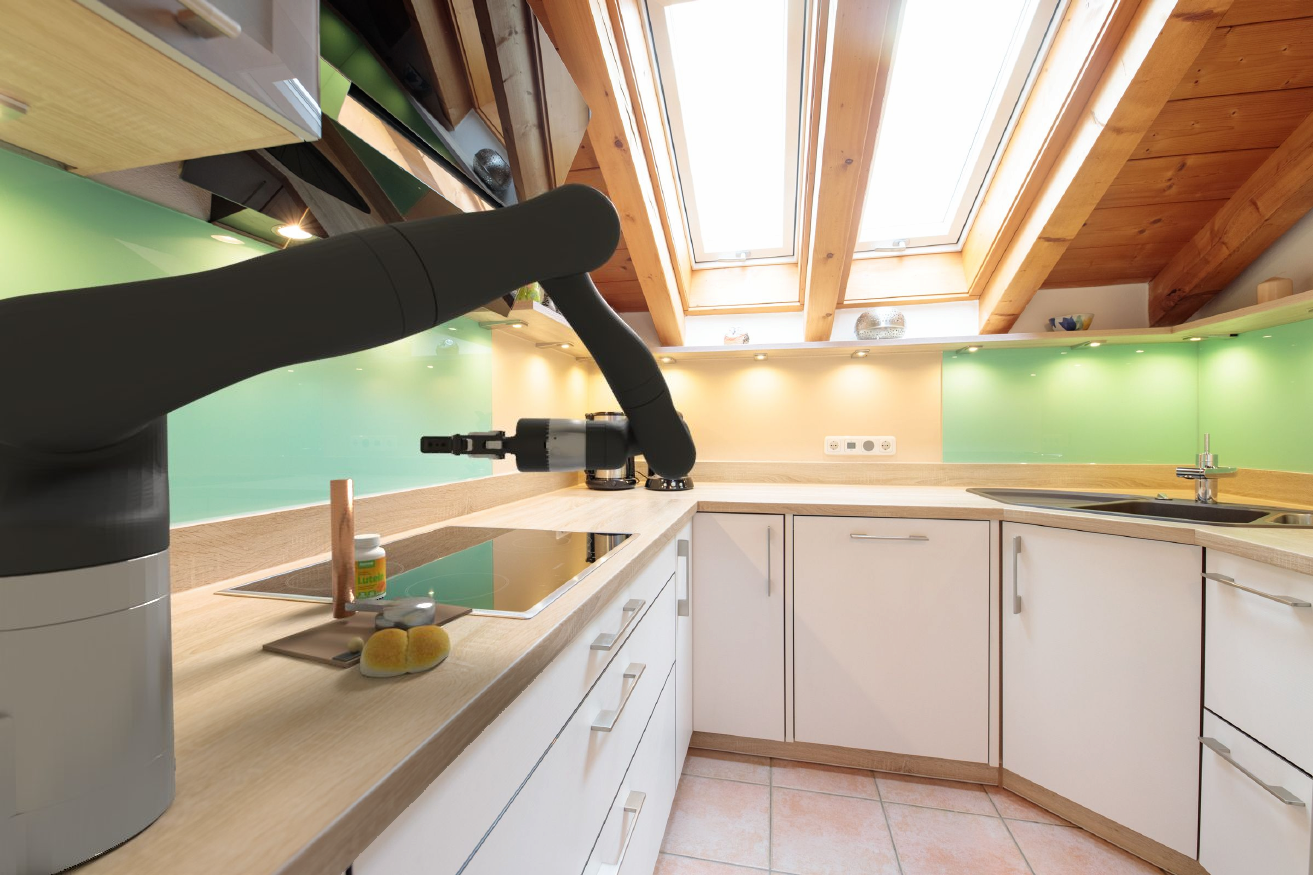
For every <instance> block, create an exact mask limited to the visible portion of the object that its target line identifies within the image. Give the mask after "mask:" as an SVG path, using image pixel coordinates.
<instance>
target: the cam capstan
mask: <svg viewBox="0 0 1313 875" xmlns="http://www.w3.org/2000/svg"><path fill="white" fill-rule="evenodd" d="M329 489H330V490H329V493H330V494H329V499H330V533H331V534H330V536H331V537H330V538H331V540H330V542H331V548H330V549H331V586H332V587H331V588H332V590H331V591H332V595H331V596H332V618H333V619H334V620H336V619H342V618H348V617H351V616H354V615H355V614H356V612H358V611H361V612H376V613H378V614H377V615H376V616H375V629H376V630H379V631H381V630H384V629H393V628H395V629H400V630H403V631H407V630H409V629H411V628H414V627H418V626H428V625H430V624H432V623H433V622H434V621H435V603H436V599H434V598H432V597H428V596H415V597H414V596H413V597H407V598H403V599H401V600H397V601H390V600H386V599H378V600H372V599H356V598H355V552H354V536H355V514H354V479H353V478H342V479H341V478H337V479H331V480H329Z"/></svg>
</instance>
